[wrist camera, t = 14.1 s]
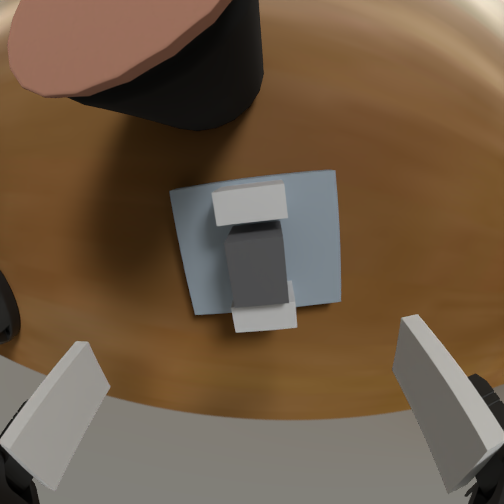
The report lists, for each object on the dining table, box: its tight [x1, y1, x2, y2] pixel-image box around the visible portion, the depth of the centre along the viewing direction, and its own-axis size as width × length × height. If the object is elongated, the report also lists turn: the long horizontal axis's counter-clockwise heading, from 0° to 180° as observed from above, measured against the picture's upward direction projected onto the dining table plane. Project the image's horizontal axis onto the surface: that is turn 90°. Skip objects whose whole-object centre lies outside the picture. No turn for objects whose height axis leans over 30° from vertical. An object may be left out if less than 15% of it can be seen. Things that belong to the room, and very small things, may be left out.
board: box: [169, 170, 341, 333], centre depth 24 cm, size 14×12×6 cm
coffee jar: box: [7, 0, 264, 131], centre depth 13 cm, size 11×11×18 cm
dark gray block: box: [224, 221, 289, 308], centre depth 22 cm, size 4×5×5 cm
